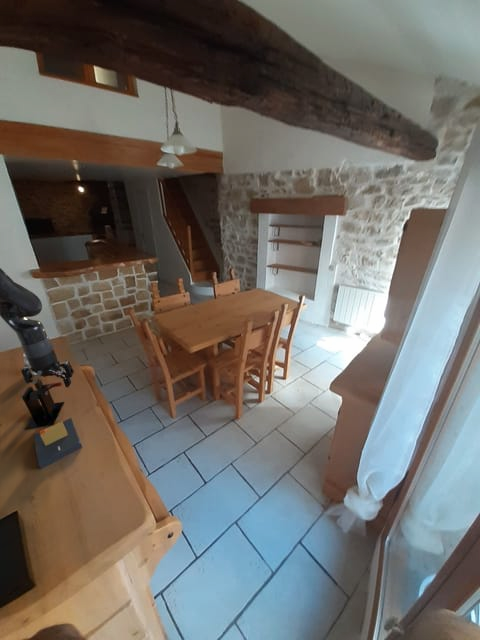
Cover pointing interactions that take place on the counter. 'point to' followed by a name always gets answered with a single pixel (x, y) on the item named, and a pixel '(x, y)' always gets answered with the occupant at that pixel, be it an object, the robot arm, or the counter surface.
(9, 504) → the counter surface
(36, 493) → the counter surface
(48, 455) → the lock plate
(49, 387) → the latch lever
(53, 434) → the yellow flat block
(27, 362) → the supplement bottle
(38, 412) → the latch bracket
